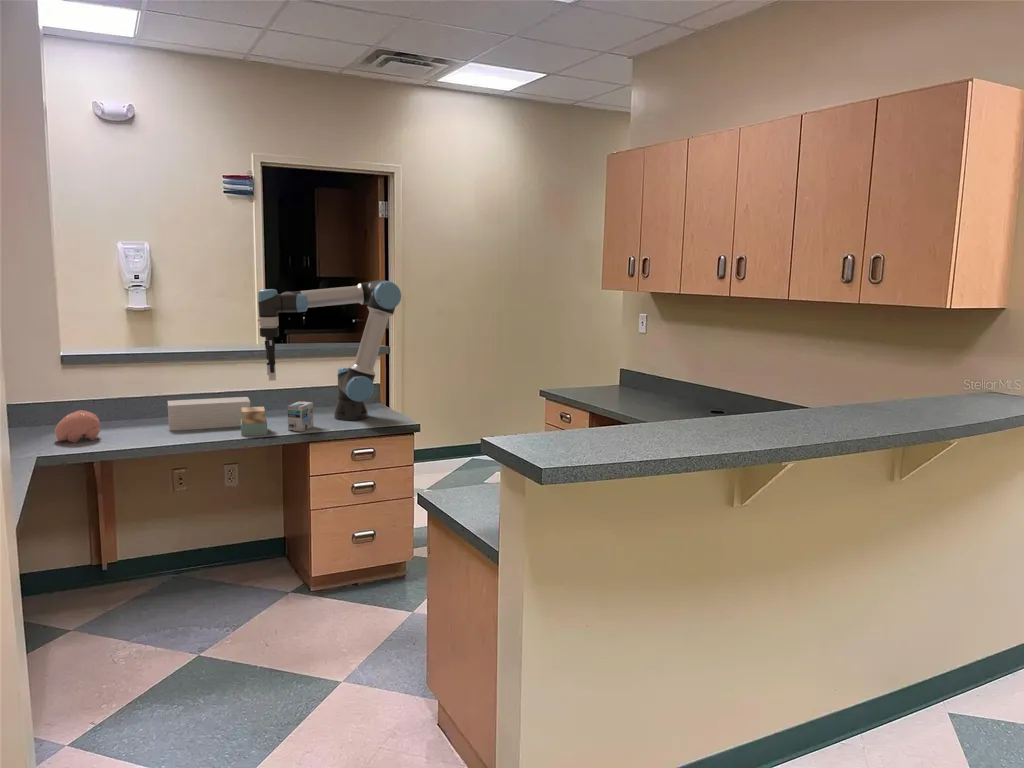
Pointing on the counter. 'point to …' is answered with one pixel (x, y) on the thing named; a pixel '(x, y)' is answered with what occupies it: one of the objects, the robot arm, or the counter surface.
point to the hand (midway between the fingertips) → (271, 377)
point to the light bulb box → (300, 416)
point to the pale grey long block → (206, 413)
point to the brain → (78, 426)
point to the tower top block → (253, 415)
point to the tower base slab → (254, 428)
